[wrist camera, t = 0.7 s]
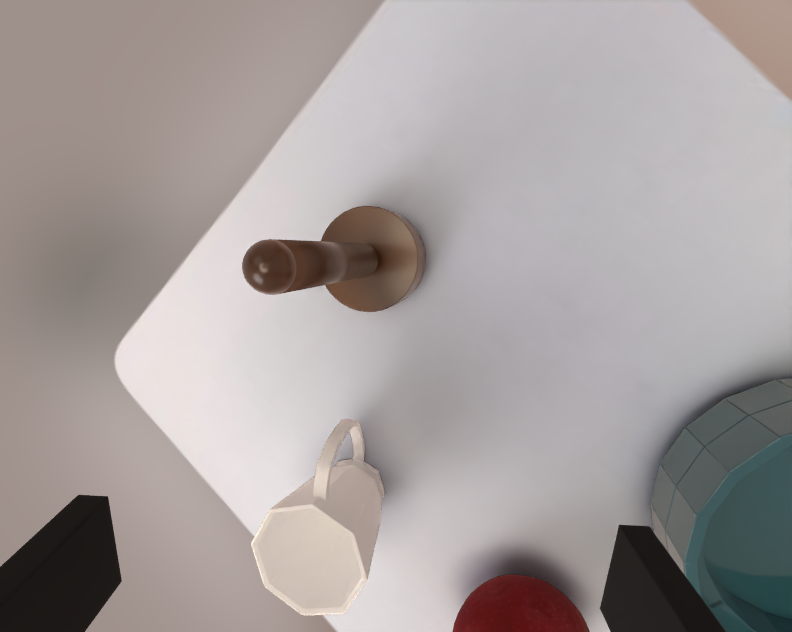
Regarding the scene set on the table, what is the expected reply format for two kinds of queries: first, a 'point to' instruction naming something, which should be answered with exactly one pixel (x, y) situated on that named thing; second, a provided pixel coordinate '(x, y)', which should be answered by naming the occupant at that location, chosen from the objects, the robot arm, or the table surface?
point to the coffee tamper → (345, 260)
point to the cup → (323, 532)
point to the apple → (518, 608)
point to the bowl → (733, 507)
